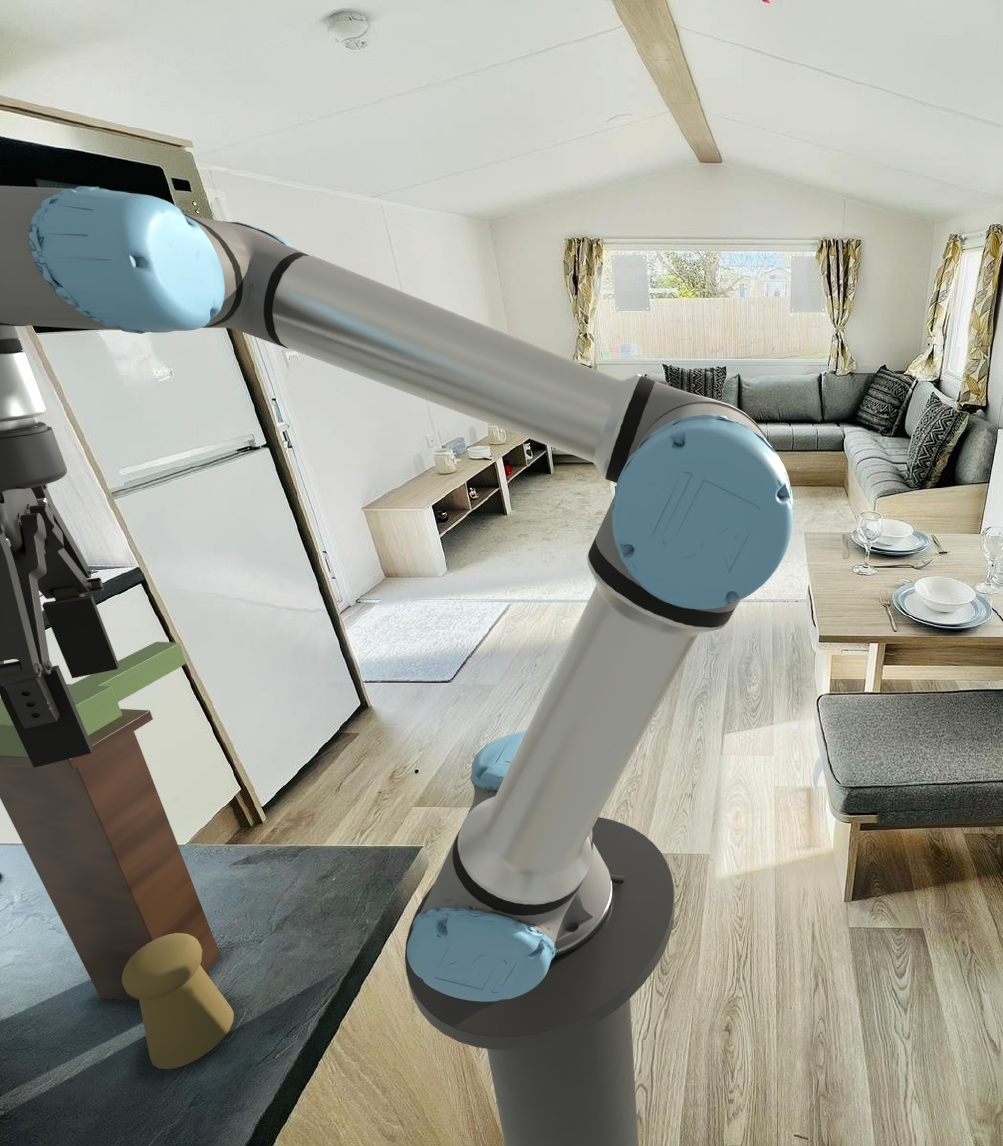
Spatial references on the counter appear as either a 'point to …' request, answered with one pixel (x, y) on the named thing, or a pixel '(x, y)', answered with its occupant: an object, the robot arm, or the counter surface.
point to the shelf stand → (105, 851)
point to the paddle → (104, 691)
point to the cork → (176, 1000)
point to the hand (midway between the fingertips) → (82, 710)
